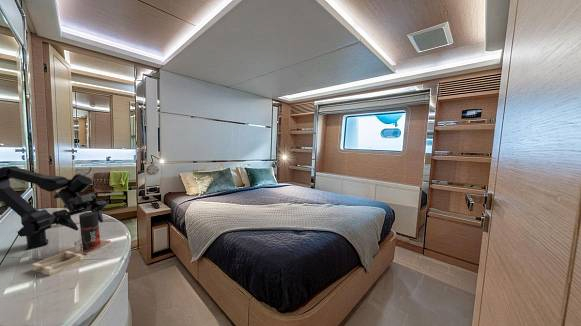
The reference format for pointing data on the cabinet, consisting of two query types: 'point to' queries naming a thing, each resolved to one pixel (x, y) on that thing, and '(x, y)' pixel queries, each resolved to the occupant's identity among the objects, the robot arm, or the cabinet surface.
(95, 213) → the deodorant
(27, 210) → the robot arm
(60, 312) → the cabinet surface
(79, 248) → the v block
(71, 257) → the beige square frame
